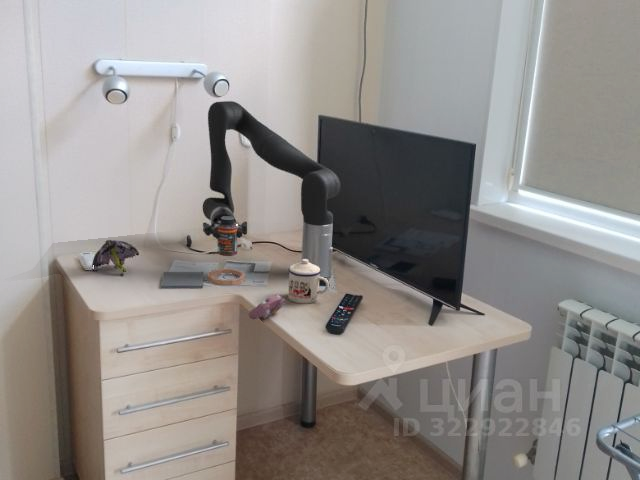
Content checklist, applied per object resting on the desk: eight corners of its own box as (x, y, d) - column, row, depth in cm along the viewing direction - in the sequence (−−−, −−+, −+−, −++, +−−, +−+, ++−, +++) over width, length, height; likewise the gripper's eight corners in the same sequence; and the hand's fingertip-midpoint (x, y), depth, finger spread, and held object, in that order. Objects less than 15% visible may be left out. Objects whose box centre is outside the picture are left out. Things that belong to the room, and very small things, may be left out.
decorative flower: (129, 232, 217) (132, 232, 203) (142, 267, 218) (146, 268, 204) (83, 248, 212) (83, 248, 198) (96, 283, 214) (97, 286, 199)
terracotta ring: (243, 272, 215) (243, 268, 215) (245, 285, 205) (245, 280, 204) (208, 272, 213) (208, 268, 213) (207, 285, 203) (207, 280, 202)
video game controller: (257, 327, 179) (267, 308, 176) (245, 316, 181) (255, 297, 177) (281, 316, 187) (291, 298, 183) (270, 305, 189) (279, 287, 185)
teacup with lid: (282, 300, 194) (284, 261, 191) (294, 290, 202) (296, 253, 199) (322, 308, 190) (324, 268, 187) (332, 297, 198) (335, 259, 195)
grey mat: (203, 274, 212) (203, 271, 211) (202, 288, 200) (202, 285, 200) (163, 274, 210) (163, 271, 210) (160, 288, 198) (160, 285, 198)
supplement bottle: (216, 256, 203) (216, 220, 200) (218, 250, 209) (217, 214, 206) (236, 257, 204) (236, 220, 201) (238, 250, 210) (237, 215, 206)
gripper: (200, 209, 215) (203, 223, 200) (245, 208, 219) (252, 222, 203) (200, 232, 217) (203, 248, 202) (245, 231, 221) (252, 246, 205)
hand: (228, 235), depth 202 cm, fingers closed on supplement bottle, 6 cm apart
